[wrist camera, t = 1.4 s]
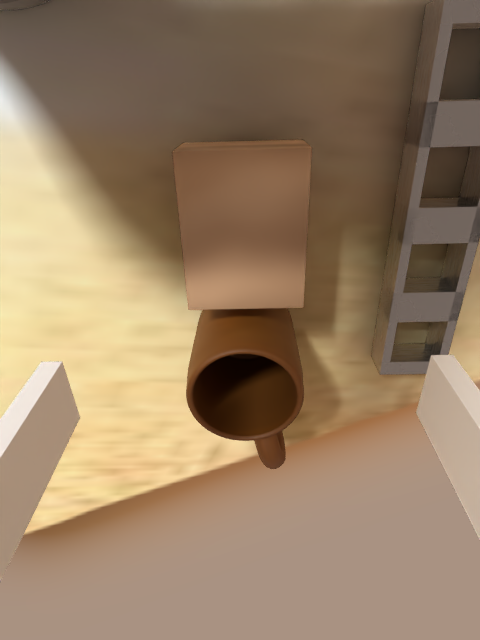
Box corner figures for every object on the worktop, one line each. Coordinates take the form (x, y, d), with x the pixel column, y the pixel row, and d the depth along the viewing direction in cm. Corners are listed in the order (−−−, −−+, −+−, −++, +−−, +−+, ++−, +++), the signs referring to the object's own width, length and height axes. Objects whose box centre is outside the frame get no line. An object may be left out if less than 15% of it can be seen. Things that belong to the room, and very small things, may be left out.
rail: (425, 4, 23) (445, -6, 21) (516, 0, 23) (545, -9, 21) (371, 356, 35) (379, 374, 33) (430, 355, 35) (443, 373, 32)
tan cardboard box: (189, 137, 27) (172, 151, 20) (296, 134, 26) (311, 147, 20) (199, 266, 31) (188, 309, 25) (292, 264, 31) (303, 307, 25)
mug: (312, 387, 37) (331, 473, 28) (232, 406, 38) (228, 494, 30) (278, 269, 31) (289, 333, 23) (185, 296, 32) (164, 366, 24)
